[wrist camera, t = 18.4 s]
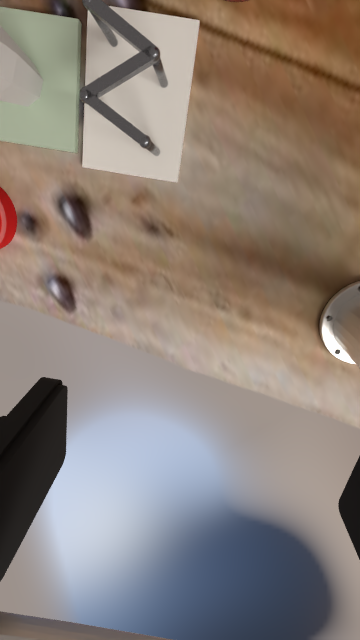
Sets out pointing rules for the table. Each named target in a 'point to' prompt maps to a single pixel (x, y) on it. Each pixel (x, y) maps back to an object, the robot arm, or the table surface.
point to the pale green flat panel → (45, 80)
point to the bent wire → (122, 69)
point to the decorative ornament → (6, 219)
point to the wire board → (141, 97)
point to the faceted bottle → (17, 74)
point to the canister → (236, 0)
